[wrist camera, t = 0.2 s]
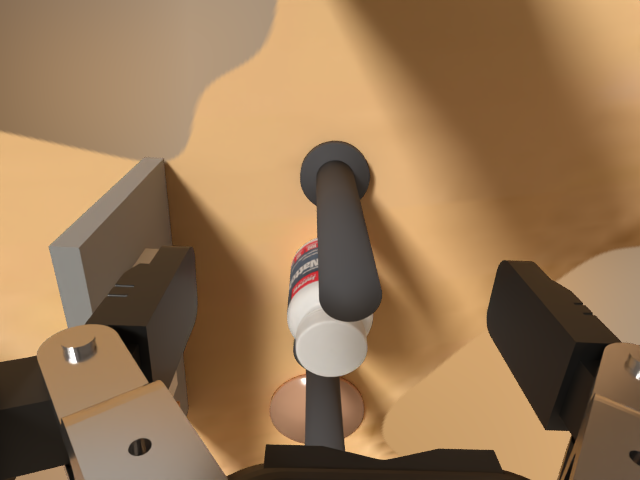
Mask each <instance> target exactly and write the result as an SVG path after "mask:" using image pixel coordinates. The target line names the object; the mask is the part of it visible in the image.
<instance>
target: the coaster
mask: <svg viewBox="0 0 640 480" xmlns="http://www.w3.org/2000/svg"><path fill="white" fill-rule="evenodd" d="M340 391H341V404H342V418H343V432H344V438H345V437H347V436H349V435H350V434H351V433H353V432H354V431H355V430H356V429H357V427H358V426H359V425H360V423H361V421H362V419H363V415H364V404H363V399H362V396H361V394H360V392H359V391H358V390H357V388H356V387H355V386H354V385H352V384H351V383H350V382H348V381H347V380H345V379H343V378H341V377H340ZM305 407H306V374H304V375H300V376H297V377H294V378H292V379H290V380H288V381H286V382H285V383H284V384H282V385H281V386H280V387H279V388H278V389H277V390H276V392H275V393H274V395H273V397H272V399H271V403H270V417H271V420H272V422H273V424H274V426H275V427H276V429H277V430H278V431H279V432H280V433H282V434H283V435H284V436H286V437H288V438H290V439H292V440H294V441H297V442H300V443H305Z"/></svg>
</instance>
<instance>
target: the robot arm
mask: <svg viewBox="0 0 640 480" xmlns="http://www.w3.org/2000/svg"><path fill="white" fill-rule="evenodd" d="M197 304H198V301H197V284H196V268H195V254H194V250H193V248H192V247H186V246H161V247H160V249H159V250H158V252H157V253H156V255H155V256H154V258H153V259H152V261H151V262H150V263H149V264H145V263H139V264H138V265H136V266H134V267H133V268H131V269H129V270H128V271H126V272H125V273H123V275H122V276H121V277H120V279H119V280H118V281H117V283H116V284H115V287H113V288H112V289H111V290H110V292H109V293H108V296H106V297H105V298H104V300H103V301H102V302H101V303H100V305H99V306H98V307H97V309H96V310H95V311H94V313H93V314H92V315H91V317H90V318H89V319H88V320H87V322H86V323H85V324H84V325H80V326H75V327H71V328H68V329H65V330H63V331H60V332H58V333H56V334H54V335H53V336H51V337H50V338H48V339H47V340H46V341H45V342H44V343H43V344H42V345H41V346H40V347H39V349H38V351H37V356H33V357H28V358H22V359H16V360H10V361H4V362H0V480H15V478H16V477H17V476H21V475H25V474H29V473H34V472H38V471H41V470H46V469H50V468H54V467H58V466H63V465H64V469H65V472H66V475H67V478H68V480H530V479H528V478H525V477H523V476H520V475H517V474H514V473H512V472H509V471H504V470H502V468H501V466H500V464H499V461H498V459H497V457H496V454H495V452H494V450H467V449H466V450H464V449H435V450H431V451H426V452H421V453H417V454H412V455H408V456H403V457H398V458H393V459H388V460H379V459H375V458H370V457H366V456H362V455H358V454H354V453H350V452H346V451H342V450H338V449H333V448H329V447H325V446H306V445H266V450H265V460H264V463H263V464H259V465H254V466H251V467H248V468H245V469H242V470H239V471H237V472H235V473H233V474H230V475H228V476H225V474H224V473H223V471H222V470H221V468H220V467H219V465H218V464H217V462H216V461H215V459H214V458H213V456H212V455H211V453H210V452H209V450H208V449H207V447H206V446H205V444H204V443H203V441H202V440H201V438H200V437H199V435H198V434H197V432H196V431H195V429H194V428H193V426H192V425H191V423H190V422H189V420H188V419H187V417H186V416H185V414H184V413H183V411H182V410H181V408H180V407H179V405H178V404H177V402H176V401H175V399H174V398H173V396H172V395H171V393H170V392H169V387H170V385H171V382H172V380H173V377H174V375H175V372H176V370H177V367H178V364H179V362H180V359H181V357H182V354H183V352H184V349H185V347H186V344H187V342H188V339H189V336H190V334H191V331H192V329H193V326H194V324H195V320H196V315H197ZM487 328H488V331H489V334H490V336H491V338H492V339H493V341H494V343H495V345H496V346H497V348H498V350H499V351H500V353H501V355H502V357H503V358H504V360H505V362H506V363H507V365H508V367H509V368H510V370H511V372H512V374H513V375H514V377H515V379H516V380H517V382H518V384H519V386H520V387H521V389H522V391H523V392H524V394H525V396H526V398H527V399H528V401H529V403H530V404H531V406H532V408H533V410H534V411H535V413H536V415H537V416H538V418H539V420H540V421H541V423H542V425H543V427H544V428H545V430H558V431H560V430H561V431H570V433H571V435H572V436H571V438H570V441H569V444H568V446H567V449H566V452H565V456H564V459H563V462H562V466H561V469H560V472H559V476H558V479H557V480H640V345H636V344H630V343H622V342H621V341H620V340H619V339H618V338H617V337H616V336H615V335H614V334H613V333H612V332H611V331H610V330H609V329H608V328H607V327H606V326H605V325H604V324H603V323H602V322H601V321H600V320H599V319H598V318H597V317H596V316H595V315H593V314H592V312H591V311H590V310H589V309H588V308H587V307H586V306H585V305H583V303H582V302H581V301H580V300H579V299H578V298H577V297H576V296H575V295H574V294H573V293H572V292H571V291H570V290H568V289H567V288H565V287H563V286H562V285H560V284H558V283H556V282H555V281H553V280H551V279H550V278H549V277H548V276H547V275H546V274H545V273H544V272H543V271H542V270H541V269H540V268H539V267H538V266H537V265H536V264H535V263H534V262H532V261H509V260H504V261H502V262H501V263H500V264H499V266H498V269H497V273H496V277H495V281H494V285H493V289H492V294H491V298H490V302H489V306H488V310H487Z"/></svg>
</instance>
